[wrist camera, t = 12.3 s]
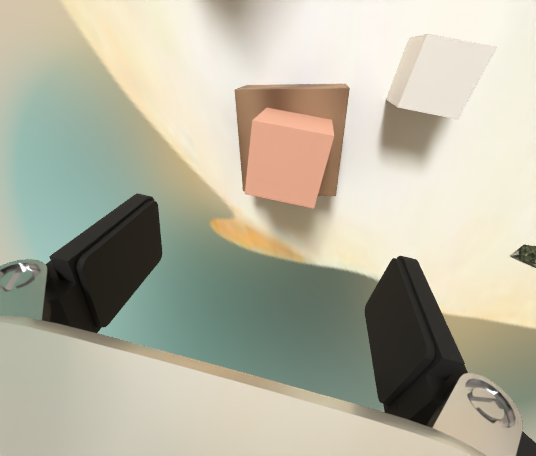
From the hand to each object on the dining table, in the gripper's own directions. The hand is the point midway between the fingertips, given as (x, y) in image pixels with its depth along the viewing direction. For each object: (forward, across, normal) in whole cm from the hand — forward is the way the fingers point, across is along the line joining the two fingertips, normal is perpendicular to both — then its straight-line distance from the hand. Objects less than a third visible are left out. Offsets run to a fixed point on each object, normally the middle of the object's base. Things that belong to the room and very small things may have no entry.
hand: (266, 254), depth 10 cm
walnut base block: (+23, +1, +1) cm, 23 cm away
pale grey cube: (+22, -10, -7) cm, 25 cm away
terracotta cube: (+18, +1, +1) cm, 18 cm away
